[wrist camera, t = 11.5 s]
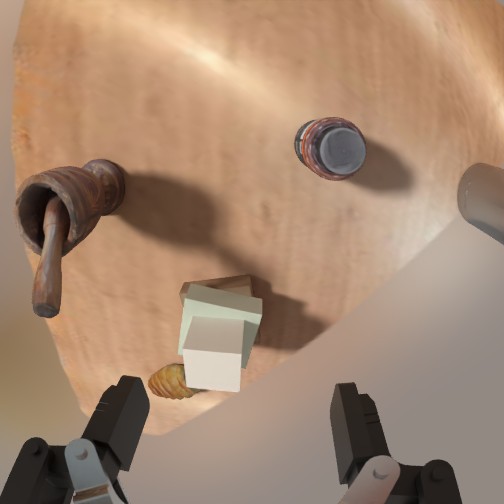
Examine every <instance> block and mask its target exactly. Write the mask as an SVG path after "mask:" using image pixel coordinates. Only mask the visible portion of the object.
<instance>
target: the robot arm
mask: <svg viewBox="0 0 504 504" xmlns="http://www.w3.org/2000/svg"><path fill="white" fill-rule="evenodd" d="M458 206H459V210H460V213H461V215H462V216H463V218H464V219H465V220H466V221H467V222H468V223H470V224H472V225H473V226H475V227H477V228H478V229H480V230H481V231H483V232H485V233H486V234H488V235H489V236H491V237H492V238H494V239H495V240H497V241H498V242H500V243H502V244H503V245H504V169H501V168H498V167H495V166H491V165H488V164H484V163H478V164H475V165H473V166H471V167H470V168H469V169H468V170H467V171H466V172H465V174H464V175H463V177H462V179H461V182H460V184H459V189H458ZM149 409H150V403H149V398H148V396H147V393H146V391H145V388H144V385H143V382H142V380H141V378H140V377H133V376H126V375H123V376H122V377H121V378H120V380H119V382H118V384H117V386H114V385H111V386H110V387H109V388H108V389H107V390H106V391H105V392H104V393H103V395H102V397H101V399H100V401H99V403H98V405H97V407H96V410H95V411H94V413H93V415H92V417H91V419H90V421H89V423H88V425H87V427H86V429H85V431H84V433H83V435H82V437H81V438H80V439H75V440H73V441H71V442H70V443H69V444H68V445H67V446H50V445H48V444H47V443H46V442H45V441H44V440H43V439H42V438H38V437H34V438H31V439H29V440H27V441H26V442H25V443H24V445H23V447H22V449H21V451H20V453H19V455H18V457H17V459H16V462H15V464H14V466H13V468H12V471H11V472H10V475H9V477H8V479H7V482H6V484H5V486H4V489H3V491H2V494H1V496H0V504H70V502H71V499H72V496H73V493H74V490H75V493H76V496H73V502H74V504H131V503H130V501H129V499H128V497H127V495H126V493H125V491H124V489H123V486H122V484H121V482H120V480H119V477H118V473H119V470H124V471H129V468H130V465H131V462H132V459H133V456H134V454H135V451H136V448H137V445H138V442H139V439H140V436H141V433H142V430H143V428H144V425H145V422H146V419H147V416H148V413H149ZM330 420H331V427H332V433H333V439H334V446H335V452H336V459H337V466H338V473H339V481H340V484H348V491H347V492H346V494H345V495H344V496H343V498H342V499H341V501H340V502H339V503H338V504H462V501H461V497H460V493H459V489H458V485H457V482H456V478H455V474H454V471H453V468H452V467H451V465H450V464H449V463H448V462H446V461H443V460H432V461H430V462H428V463H427V464H426V465H425V466H410V465H403V464H400V463H398V462H397V461H396V460H394V459H393V458H392V457H391V455H390V453H389V450H388V447H387V443H386V440H385V436H384V433H383V429H382V426H381V423H380V419H379V416H378V412H377V409H376V406H375V403H374V401H373V400H372V399H371V398H370V397H369V395H368V394H358V391H357V387H356V384H355V383H354V382H352V383H341V384H340V383H339V384H336V385H335V390H334V394H333V398H332V402H331V407H330Z"/></svg>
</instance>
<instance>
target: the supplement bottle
mask: <svg viewBox="0 0 504 504" xmlns="http://www.w3.org/2000/svg"><path fill="white" fill-rule="evenodd" d="M294 145H295V151H296V154H297V156H298V158H299V159H300V161H301V162H302V163H303V164H304V165H305V166H307V167H308V168H309V169H311V170H312V171H313V172H314V173H316V174H317V175H319V176H320V177H322V178H325V179H328V180H334V181H339V180H344V179H347V178H349V177H351V176H353V175H354V174H355V173H356V172H357V171H359V169H360V168H361V167H362V165H363V163H364V161H365V158H366V142H365V139H364V137H363V135H362V133H361V131H360V130H359V129H358V128H357V127H356V126H355V125H354V124H353V123H351V122H350V121H348V120H345V119H342V118H337V117H329V118H323V119H317V120H312V121H309V122H307V123H306V124H304V125H303V126H302V127H301V128H300V129H299V131H298V132H297V134H296V137H295V143H294Z"/></svg>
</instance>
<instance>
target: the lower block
mask: <svg viewBox="0 0 504 504" xmlns="http://www.w3.org/2000/svg"><path fill="white" fill-rule="evenodd" d="M191 283H192V284H196V285H200V286H205V287H209V288H214V289H218V290H223V291H227V292H232V293H236V294H241V295H246V296H251V297H254V293H253V287H252V281H251V276H250V275H242V276H234V277H226V278H218V279H210V280H201V281H193V282H184V284H183V286H182V289H181V291H180V293H179V295H180V298H181V302H182V305H183V308H184V301H185V297H186V294H187V292H188V289H189V287H190V284H191ZM254 343H260V326H259V327H258V330H257V334H256V337H255V340H254Z"/></svg>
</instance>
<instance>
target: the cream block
mask: <svg viewBox="0 0 504 504" xmlns="http://www.w3.org/2000/svg"><path fill="white" fill-rule="evenodd" d="M243 331H244V320H239V319H226V318H213V317H201V316H193V317H192V320H191V323H190V327H189V330H188V333H187V336H186V339H185V342H184V346H183V358H184V368H185V377H186V385H187V387H190V388H198V389H208V390H218V391H230V392H240V378H241V364H242V348H243Z"/></svg>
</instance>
